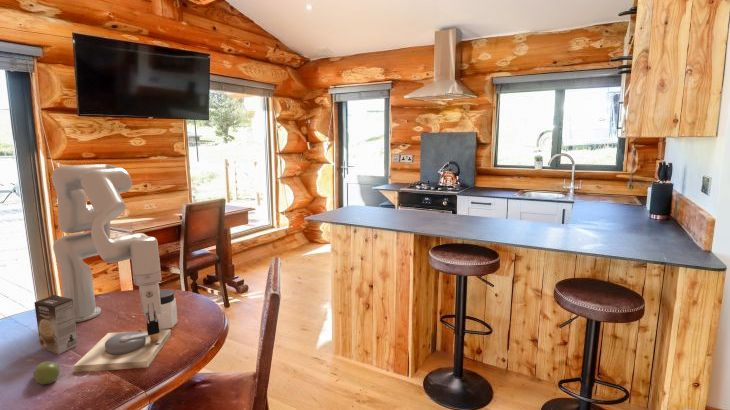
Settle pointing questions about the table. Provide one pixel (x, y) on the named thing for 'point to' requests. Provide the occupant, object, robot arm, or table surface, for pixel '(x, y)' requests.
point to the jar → (167, 310)
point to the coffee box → (56, 323)
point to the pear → (46, 372)
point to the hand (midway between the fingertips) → (153, 333)
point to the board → (121, 355)
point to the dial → (127, 342)
